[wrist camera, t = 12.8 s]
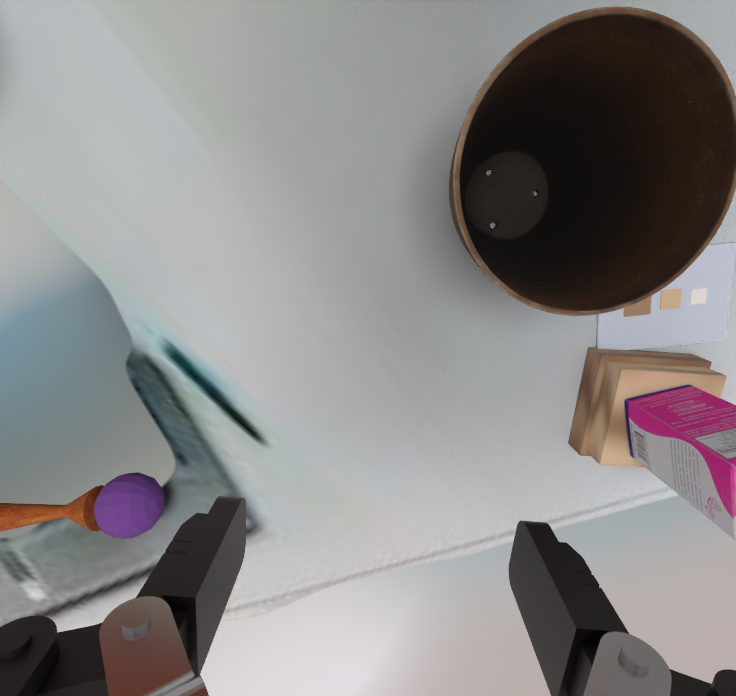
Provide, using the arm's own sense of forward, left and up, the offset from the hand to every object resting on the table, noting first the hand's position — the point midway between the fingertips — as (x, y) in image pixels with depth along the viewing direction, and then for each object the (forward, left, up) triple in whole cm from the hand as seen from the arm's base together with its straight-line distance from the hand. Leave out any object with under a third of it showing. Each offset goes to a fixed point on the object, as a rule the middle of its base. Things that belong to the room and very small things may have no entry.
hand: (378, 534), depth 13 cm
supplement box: (+6, +26, -25) cm, 36 cm away
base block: (+6, +26, -29) cm, 39 cm away
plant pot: (-12, +11, -30) cm, 34 cm away
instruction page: (-4, +27, -29) cm, 40 cm away
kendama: (+21, -29, -30) cm, 46 cm away
